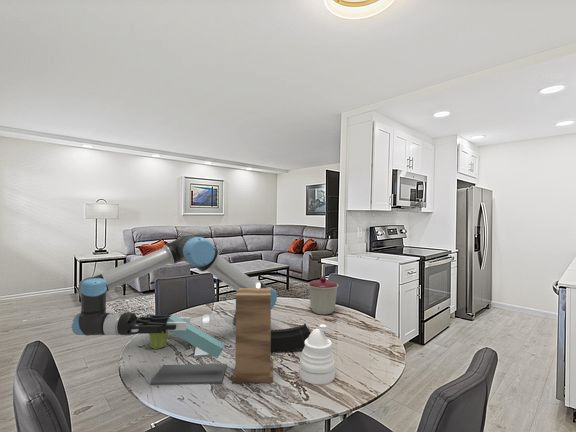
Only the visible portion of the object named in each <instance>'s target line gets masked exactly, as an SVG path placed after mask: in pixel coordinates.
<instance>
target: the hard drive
mask: <svg viewBox="0 0 576 432" xmlns="http://www.w3.org/2000/svg"><path fill="white" fill-rule="evenodd" d="M202 357H203V358H210V357H211V358H212V357H213V356H212V355H210V354H208V353H206V352H204V351H203V350H201V349H199V348H197V347H196V346H195V350H194V356H193V358H194V359H200V358H201V359H202Z"/></svg>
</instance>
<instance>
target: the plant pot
mask: <svg viewBox="0 0 576 432" xmlns="http://www.w3.org/2000/svg"><path fill="white" fill-rule="evenodd" d="M168 334H169V331H167V330H166V333H163V331H162V333H151V334H149V335H148V336H149V342H150V348H152V349H153V350H160V349H162V348H165V347H166V346H167V343H168V342H167V341H168Z"/></svg>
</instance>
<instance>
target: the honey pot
mask: <svg viewBox="0 0 576 432" xmlns="http://www.w3.org/2000/svg"><path fill="white" fill-rule="evenodd" d="M326 329H327V325H326V324H319V328H315V329H313V330H311V334H310V335H309V337H308V338H307V339H306V340H305V342H304V344H305V347H304V349H302V352H301V356H300V357H299V377H300V379H302V380H303V381H305V382H306V383H309V384H311V385H312V384H313V385H320V386H321V385H326V384H329V383H332V382H333V381H334V380H335V378H336V359H335V357H334V354H333V350H332V348H331V347H332V346H333V343H332V341H331V339H329V338H328V337H327V336H326V335H325V333H324V332H325V331H326Z"/></svg>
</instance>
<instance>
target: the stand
mask: <svg viewBox="0 0 576 432" xmlns="http://www.w3.org/2000/svg"><path fill="white" fill-rule="evenodd" d="M271 288H272V287H271ZM271 288H239V290H238V292H237V291H236V294H235V312H236V325H235V351H234V352H235V353H234V354H235V366H234V369H233V374H232V376H231V384H268V383H269V384H273V383H274V360H273V359H272V358H271V354H272V353H271V330H272V329H271V328H272V327H271V326H272V325H271V324H272V309H271Z"/></svg>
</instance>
